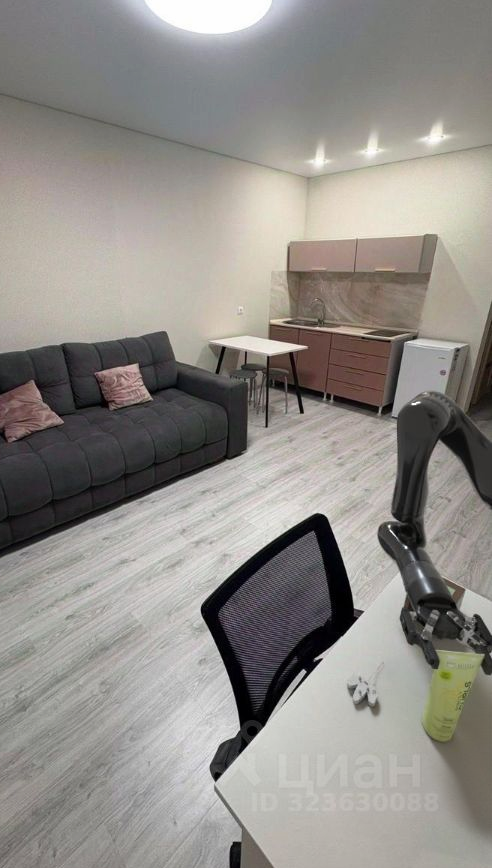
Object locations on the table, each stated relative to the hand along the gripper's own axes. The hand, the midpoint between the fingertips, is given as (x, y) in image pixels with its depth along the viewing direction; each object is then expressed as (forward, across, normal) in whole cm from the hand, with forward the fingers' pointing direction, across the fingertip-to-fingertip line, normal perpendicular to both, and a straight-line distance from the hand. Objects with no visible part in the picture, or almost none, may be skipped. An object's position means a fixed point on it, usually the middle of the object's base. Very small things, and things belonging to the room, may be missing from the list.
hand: (463, 668), depth 65 cm
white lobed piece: (-9, -10, +18) cm, 23 cm away
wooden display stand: (-29, +9, +18) cm, 35 cm away
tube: (-2, 0, +18) cm, 18 cm away
